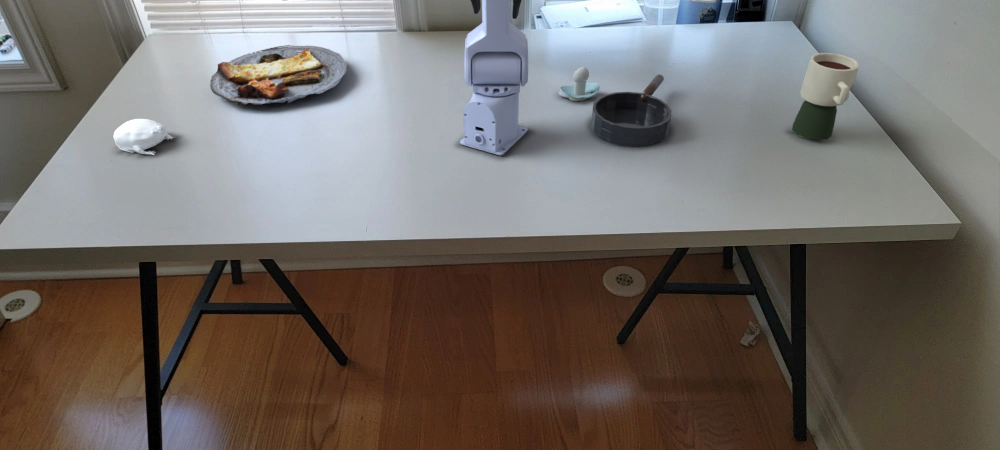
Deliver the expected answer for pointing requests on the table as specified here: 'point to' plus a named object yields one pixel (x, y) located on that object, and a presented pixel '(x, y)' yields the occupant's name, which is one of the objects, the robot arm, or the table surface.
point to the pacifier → (580, 87)
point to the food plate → (278, 74)
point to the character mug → (824, 94)
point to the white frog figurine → (140, 135)
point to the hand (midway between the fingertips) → (496, 13)
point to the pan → (630, 119)
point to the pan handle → (652, 87)
